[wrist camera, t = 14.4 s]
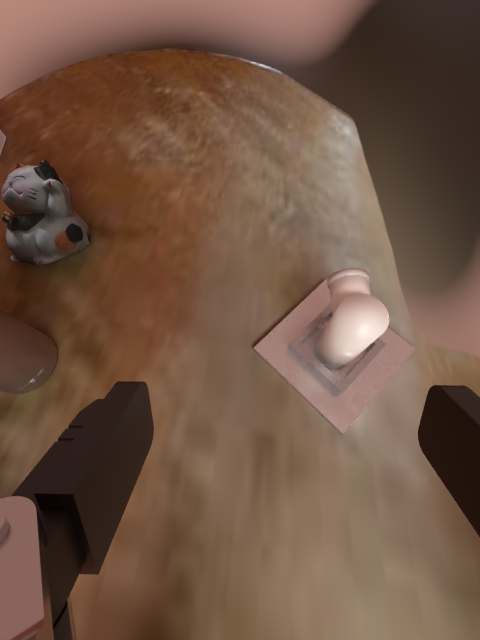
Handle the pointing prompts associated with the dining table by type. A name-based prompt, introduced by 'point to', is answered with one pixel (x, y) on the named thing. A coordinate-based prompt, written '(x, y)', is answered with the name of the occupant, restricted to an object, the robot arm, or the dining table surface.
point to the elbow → (350, 318)
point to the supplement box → (2, 141)
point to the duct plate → (320, 380)
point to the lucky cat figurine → (41, 216)
